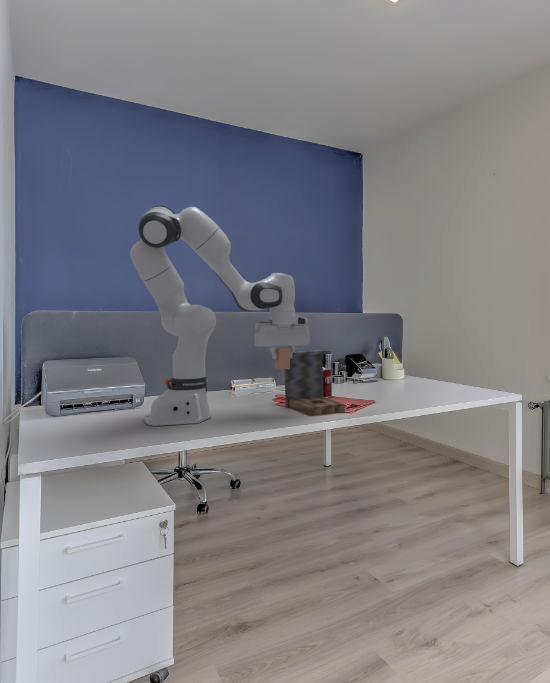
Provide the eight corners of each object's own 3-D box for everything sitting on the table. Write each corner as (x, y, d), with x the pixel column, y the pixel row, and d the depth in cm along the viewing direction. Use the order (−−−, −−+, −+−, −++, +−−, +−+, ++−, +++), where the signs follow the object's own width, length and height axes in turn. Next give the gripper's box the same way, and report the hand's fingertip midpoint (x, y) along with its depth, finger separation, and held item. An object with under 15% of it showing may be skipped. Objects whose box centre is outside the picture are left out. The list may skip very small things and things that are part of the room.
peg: (279, 369, 160) (279, 349, 160) (274, 368, 164) (274, 348, 164) (289, 368, 162) (289, 348, 162) (284, 367, 166) (285, 348, 165)
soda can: (331, 395, 199) (331, 367, 198) (332, 398, 192) (332, 369, 191) (314, 395, 200) (314, 367, 199) (314, 398, 193) (314, 369, 192)
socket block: (302, 417, 159) (302, 356, 158) (280, 407, 176) (279, 352, 175) (351, 411, 168) (351, 353, 166) (326, 402, 184) (325, 349, 183)
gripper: (258, 319, 155) (258, 361, 156) (312, 319, 163) (311, 358, 164) (251, 319, 161) (251, 359, 161) (303, 319, 169) (303, 357, 170)
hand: (282, 359), depth 163 cm, fingers closed on peg, 4 cm apart
